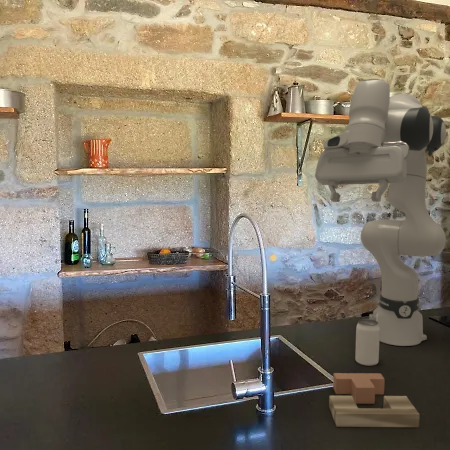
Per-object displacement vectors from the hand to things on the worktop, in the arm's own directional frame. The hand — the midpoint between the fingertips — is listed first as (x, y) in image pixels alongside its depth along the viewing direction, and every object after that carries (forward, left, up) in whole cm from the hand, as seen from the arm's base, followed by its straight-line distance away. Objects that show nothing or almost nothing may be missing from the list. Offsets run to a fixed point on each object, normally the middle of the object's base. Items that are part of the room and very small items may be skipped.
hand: (354, 201), depth 109 cm
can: (-29, +12, -49) cm, 59 cm away
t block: (-8, +5, -49) cm, 50 cm away
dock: (+2, +5, -49) cm, 49 cm away
